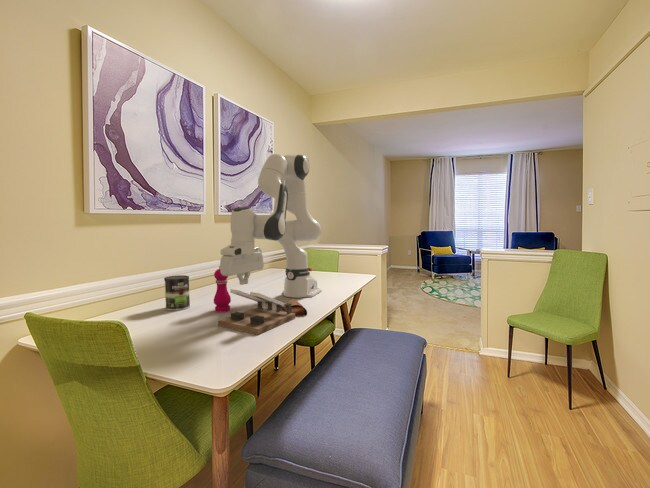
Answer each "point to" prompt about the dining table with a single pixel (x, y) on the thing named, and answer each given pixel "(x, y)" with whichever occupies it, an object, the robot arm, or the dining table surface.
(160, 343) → the dining table surface
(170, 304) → the coffee can
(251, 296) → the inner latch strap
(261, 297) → the strap
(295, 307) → the sunglasses case
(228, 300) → the pepper mill
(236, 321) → the base
